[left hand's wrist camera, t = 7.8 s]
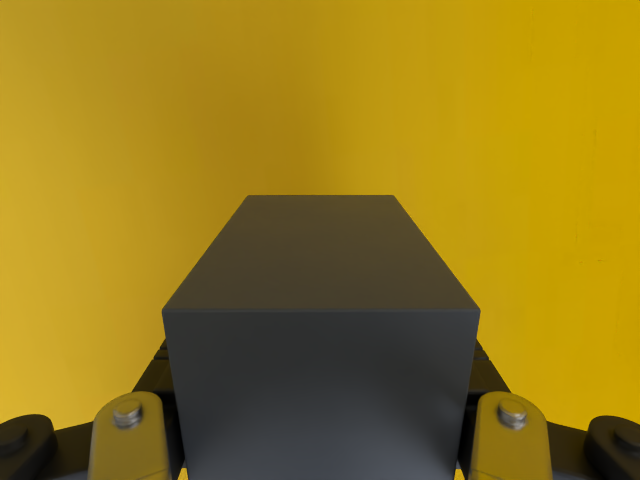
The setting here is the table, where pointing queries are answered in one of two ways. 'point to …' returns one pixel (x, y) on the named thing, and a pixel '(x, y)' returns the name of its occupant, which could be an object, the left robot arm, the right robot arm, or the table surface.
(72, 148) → the table surface
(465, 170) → the table surface
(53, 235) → the table surface
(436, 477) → the long box
